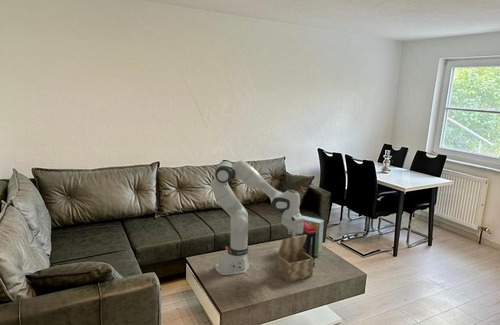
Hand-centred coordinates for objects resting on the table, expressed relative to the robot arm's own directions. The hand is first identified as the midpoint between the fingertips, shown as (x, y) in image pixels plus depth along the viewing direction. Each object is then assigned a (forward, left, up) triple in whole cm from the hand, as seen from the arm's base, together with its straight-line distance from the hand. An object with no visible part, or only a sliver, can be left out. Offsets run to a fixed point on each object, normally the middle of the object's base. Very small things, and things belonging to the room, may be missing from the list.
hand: (291, 235), depth 225 cm
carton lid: (0, -2, -6) cm, 6 cm away
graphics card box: (+16, +6, -24) cm, 30 cm away
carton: (0, -6, -24) cm, 25 cm away
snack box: (+26, +18, -24) cm, 40 cm away
